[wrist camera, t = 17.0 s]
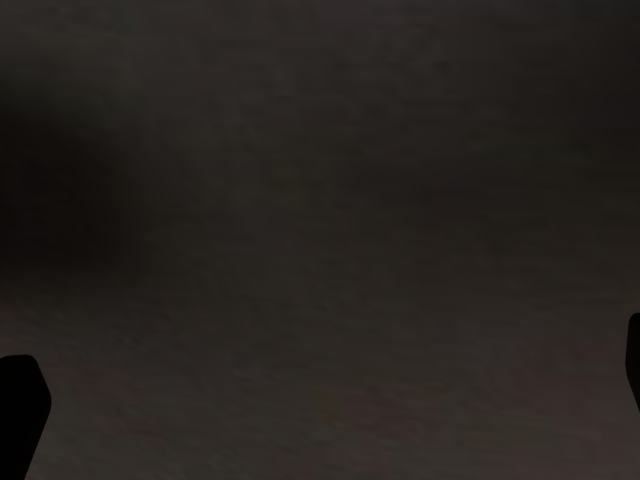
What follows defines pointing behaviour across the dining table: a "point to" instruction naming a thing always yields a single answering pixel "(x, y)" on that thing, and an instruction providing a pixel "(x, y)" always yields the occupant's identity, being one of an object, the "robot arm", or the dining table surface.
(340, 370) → the dining table surface
